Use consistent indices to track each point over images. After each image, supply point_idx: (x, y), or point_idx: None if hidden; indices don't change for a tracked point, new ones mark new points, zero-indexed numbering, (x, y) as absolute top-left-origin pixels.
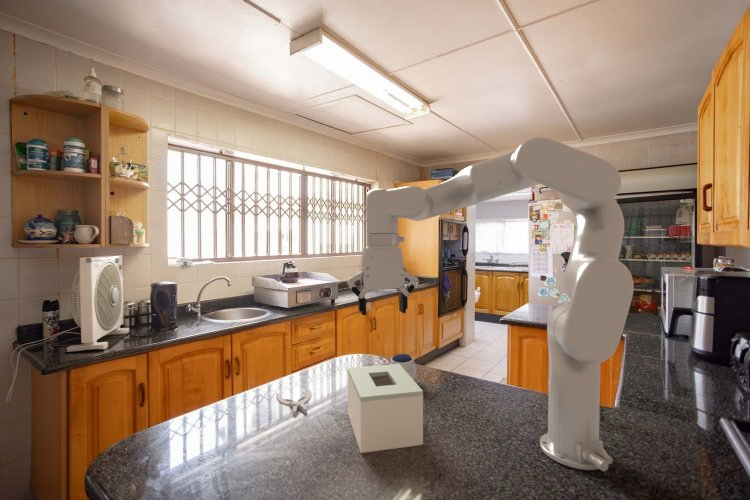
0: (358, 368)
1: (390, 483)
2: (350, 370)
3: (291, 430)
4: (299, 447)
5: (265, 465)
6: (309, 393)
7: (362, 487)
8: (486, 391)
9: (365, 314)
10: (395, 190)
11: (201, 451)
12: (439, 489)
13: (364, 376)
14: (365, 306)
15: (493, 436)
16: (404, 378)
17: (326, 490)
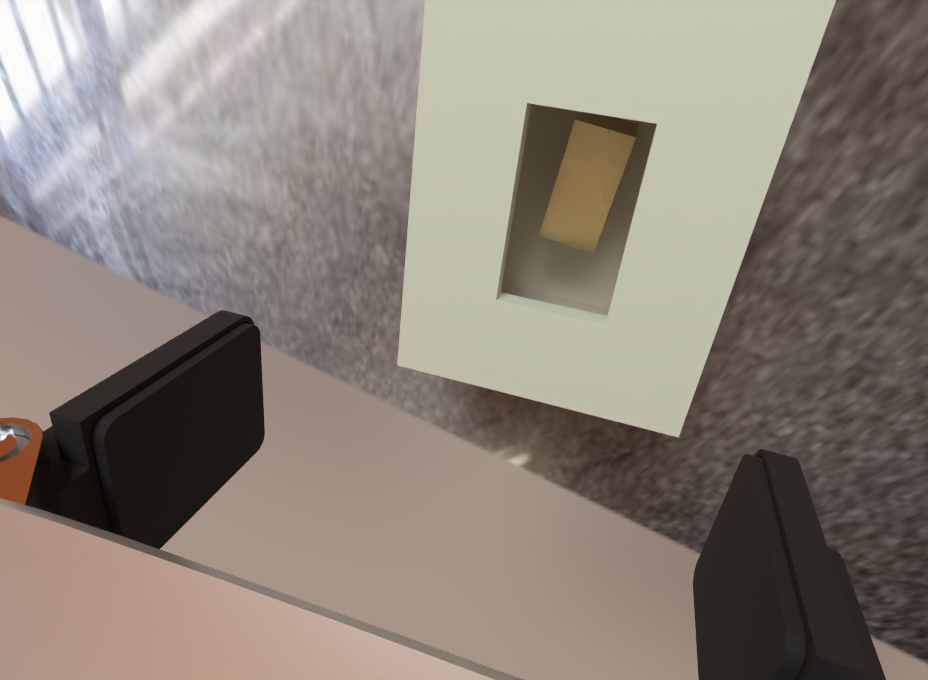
0: None
1: (492, 422)
2: (435, 9)
3: (269, 47)
4: (295, 174)
5: (213, 224)
6: None
7: (426, 403)
8: None
9: (254, 444)
10: None
11: (38, 78)
12: (590, 489)
13: (486, 148)
14: (195, 504)
15: None
16: (688, 272)
17: (349, 375)
